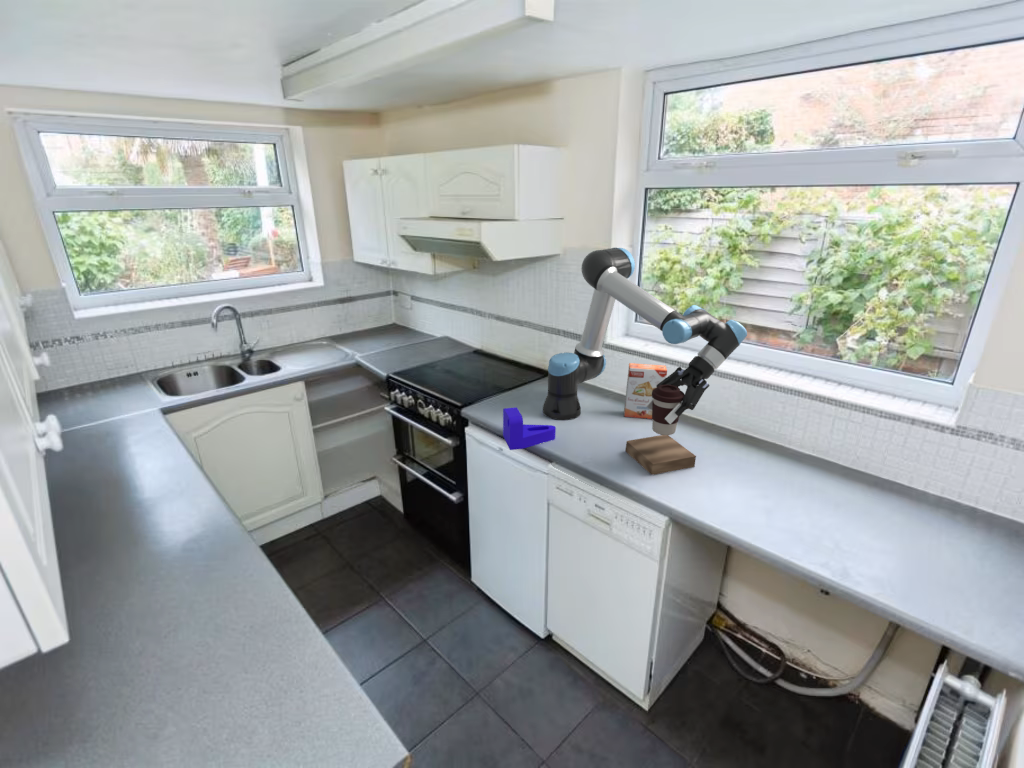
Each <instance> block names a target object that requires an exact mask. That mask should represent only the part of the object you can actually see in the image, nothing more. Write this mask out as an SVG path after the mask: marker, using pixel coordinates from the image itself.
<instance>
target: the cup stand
mask: <svg viewBox="0 0 1024 768" xmlns="http://www.w3.org/2000/svg"><path fill="white" fill-rule="evenodd" d="M625 452H626V453H627V454H628V455H629V456H630V457H631V458H632V459H634V460H635V462H637V463H638V464H639V465H640V466H641V467H642V468H643V469H644V470H645V471H646V472H647V473H649V474H650V475H651V476H654V475H659V474H664V473H670V472H674V471H681V470H686V469H690V468H695V465H696V461H697V460H696V458H697V455H695V454H694V453H693V452H692V451H690V450H689V449H688V448H686V447H684V446H683V445H682V444H681V443H679V442H678V441H676V439H674V438H673V437H671V435H660V434H658V435H654V436H649V437H648V436H647V437H642V438H636V439H631V440H630V439H629V440H626V442H625Z"/></svg>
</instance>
